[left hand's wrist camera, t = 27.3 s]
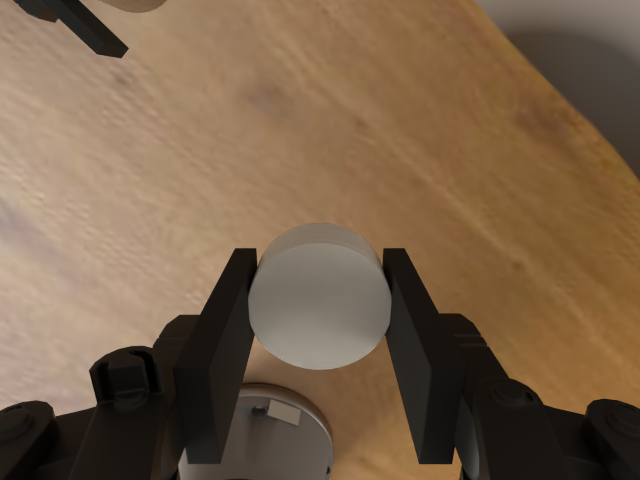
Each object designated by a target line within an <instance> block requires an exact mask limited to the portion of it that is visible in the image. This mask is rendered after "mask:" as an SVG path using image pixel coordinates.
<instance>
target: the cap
mask: <svg viewBox="0 0 640 480" xmlns="http://www.w3.org/2000/svg"><path fill="white" fill-rule="evenodd" d="M391 301H392V296H391V291H390V288H389V285H388V282H387V280H386V277H385V274H384V271H383V268H382V265H381V262H380V260H379V258H378V256H377V254H376V252H375V251H374V249H373V248H372V247H371V245H370V244H369V243H368V242H367V241H366V240H365V239H363V238H362V237H361V236H360V235H358V234H356V233H355V232H353V231H351V230H349V229H347V228H345V227H341V226H338V225H334V224H328V223H313V224H306V225H301V226H298V227H296V228H293V229H291V230H289V231H287V232H285V233H283V234H282V235H280V236H279V237H278V238H276V239H275V240H274V241H273V242H272V243H271V244H270V245H269V246H268V248H267V249H266V250H265V252H264V254H263V255H262V257H261V260H260V262H259V264H258V267H257V270H256V273H255V276H254V279H253V282H252V284H251V287H250V291H249V294H248V305H249V319H250V325H251V327H252V330H253V332H254V334H255V335H256V337H257V338H258V340H259V341H260V343H261V344H262V345H263V346H264V347H265V348H266V349H267V350H268V351H269V352H270V353H271V354H273V355H274V356H276V357H277V358H279V359H281V360H282V361H284V362H286V363H289V364H291V365H294V366H297V367H301V368H306V369H316V370H324V369H333V368H339V367H342V366H346V365H349V364H351V363H353V362H356V361H357V360H359V359H361V358H363V357H364V356H365V355H367V354H368V353H370V352H371V351H372V350H373V349H374V348H375V347H376V346H377V345H378V343H379V342H380V341H381V340H382V338H383V337H384V335H385V333H386V331H387V329H388V327H389V324H390V315H391Z"/></svg>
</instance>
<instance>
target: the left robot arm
mask: <svg viewBox="0 0 640 480" xmlns="http://www.w3.org/2000/svg"><path fill="white" fill-rule="evenodd" d="M382 268H383V271H384V274H385V277H386V280H387V282H388V285H389V288H390V291H391V296H392V301H391V315H390V324H389V327H388V329H387V331H386V333H385V336H386V340H387V344H388V348H389V352H390V355H391V359H392V363H393V367H394V370H395V374H396V378H397V382H398V386H399V389H400V393H401V397H402V401H403V405H404V408H405V412H406V416H407V420H408V423H409V427H410V431H411V435H412V439H413V442H414V446H415V450H416V454H417V458H418V461H419V464H452V461H453V455H454V448H455V447H456V450H457V453H458V455H459V458H460V461H461V463H462V467H461V472H460V478H459V480H640V409H639V408H637V407H635V406H633V405H630V404H627V403H624V402H621V401H618V400H610V399H600V400H594V401H593V402H591V403H590V404H589V405H588V406H587V410H586V413H585V415H583V414H578V413H574V412H570V411H565V410H561V409H556V408H553V407H549V406H546V405H543V402H542V401H541V399H540V398H539V396H538V395H537V394H536V393H535V392H534V391H533V390H532V389H530V388H529V387H528V386H526V385H524V384H522V383H520V382H518V381H516V380H514V379H510V378H509V377H508V375H507V374H506V372H505V371H504V369H503V368H502V366H501V365H500V363H499V362H498V360H497V359H496V357H495V356H494V354H493V352H492V351H491V349H490V348H489V346H487V343H486V342H485V340H484V339H483V337H481V334H480V333H479V331H478V330H477V328H476V326H475V325H474V323H472V322H471V321H470V320H468V319H467V318H465V317H464V316H463V315H461V314H439V313H438V311H437V309H436V307H435V305H434V303H433V301H432V299H431V298H430V296H429V294H428V292H427V290H426V288H425V286H424V284H423V282H422V281H421V279H420V277H419V275H418V273H417V271H416V269H415V267H414V265H413V264H412V262H411V260H410V258H409V256H408V254H407V252H406V250H405V248H384V249H383V265H382ZM256 270H257V253H256V248H235V250H234V252H233V254H232V256H231V257H230V259H229V261H228V263H227V265H226V267H225V269H224V271H223V273H222V274H221V276H220V278H219V280H218V282H217V284H216V286H215V288H214V290H213V291H212V293H211V295H210V297H209V299H208V301H207V303H206V305H205V307H204V308H203V310H202V312H201V314H200V315H179V316H178V317H176V318H175V319H173V320H172V321H171V322H169V323H168V324H167V325H166V326H165V328H164V329H163V331H162V332H161V334H160V335H159V338H157V340H156V341H155V343H154V345H153V348H150V347H146V346H130V347H126V348H121V349H118V350H115V351H113V352H111V353H109V354H106V355H105V356H103V357H102V358H101V359H99V360H98V361H96V362H95V363H94V365H93V366H92V367H91V369H90V370H89V372H90V376H91V380H92V384H93V388H94V392H95V396H96V400H97V406H96V407H93V408H89V409H86V410H82V411H78V412H73V413H69V414H65V415H60V416H56V417H55V414H54V411H53V408H52V407H51V406H50V405H49V404H48V403H47V402H42V401H28V402H21V403H18V404H15V405H12V406H9V407H7V408H5V409H3V410H1V411H0V480H329V477H330V474H331V470H332V466H333V459H334V452H333V436H332V431H331V428H330V426H329V423H328V421H327V420H326V418H325V416H324V415H323V414H322V412H321V411H320V410H319V409H318V408H317V407H316V406H315V405H314V404H313V403H311V402H310V401H309V400H307V399H306V398H304V397H303V396H301V395H299V394H297V393H295V392H293V391H290V390H288V389H285V388H282V387H278V386H273V385H267V384H242V381H243V377H244V373H245V370H246V366H247V362H248V358H249V354H250V351H251V347H252V343H253V339H254V335H255V334H254V332H253V330H252V327H251V325H250V319H249V305H248V294H249V291H250V287H251V284H252V282H253V279H254V276H255V273H256ZM178 466H179V467H178Z"/></svg>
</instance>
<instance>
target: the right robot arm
mask: <svg viewBox="0 0 640 480" xmlns="http://www.w3.org/2000/svg"><path fill="white" fill-rule="evenodd" d="M13 1H14V2H16V3H17V4H18V5H19V6H20V7H21V8H22V9H23V10H24V11H25V12H26V13H28V14H30V15H32V16H34V17H36V18H38V19H42V20H46V21H50V22H54V23H55V22H56V21H57V19H58V18H59V19H60V20H61V21H62V22H63V23H64V24H65V25H66V26H67V27H68V28H70V29H71V30H72V31H73V32H74V33H75V34H76V35H77V36H78V37H79V38H80V39H81V40H82V41H83V42H85V43H86V44H87V45H88V46H89V47H90V48H91V49H92V50H93V51H94V52H95V53H96V54H99V55H105V56H111V57H117V58H122V57H123V55H124V54H125V53H126V51H127V50H128V49H129V48H128V47H127V46H126V45H125V44H124V43H123V42H122V41H121V40H120V39H119V38H118V37H117V36H116V35H114V34H113V33H112V32H111V31H110V30H109V29H108V28H107V27H106V26H105V25H104V24H103V23H102V22H101V21H100V20H99V19H98V18H97V17H96V16H95V15H94V14H93V13H92V12H91V11H90V10H89V9H87V8H86V7H85V6H84V5H83V4H82V3H81V2H80V1H79V0H13Z"/></svg>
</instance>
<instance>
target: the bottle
mask: <svg viewBox="0 0 640 480" xmlns="http://www.w3.org/2000/svg"><path fill="white" fill-rule="evenodd" d="M99 1H102V2H104V3H107V4H109V5H111V6H114V7H116V8H119V9H121V10H124V11H128V12H134V13H141V12H147V11H151V10H153V9H156V8H157V7H159V6H161V5H162V4H163V3H164V2H165V1H166V0H99Z"/></svg>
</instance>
